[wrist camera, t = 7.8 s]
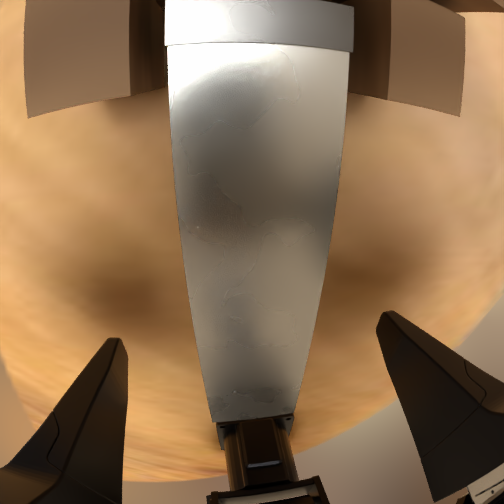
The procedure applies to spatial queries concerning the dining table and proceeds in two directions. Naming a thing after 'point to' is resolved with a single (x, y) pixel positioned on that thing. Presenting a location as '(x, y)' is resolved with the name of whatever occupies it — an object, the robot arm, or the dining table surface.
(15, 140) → the dining table surface
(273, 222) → the rail
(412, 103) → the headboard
